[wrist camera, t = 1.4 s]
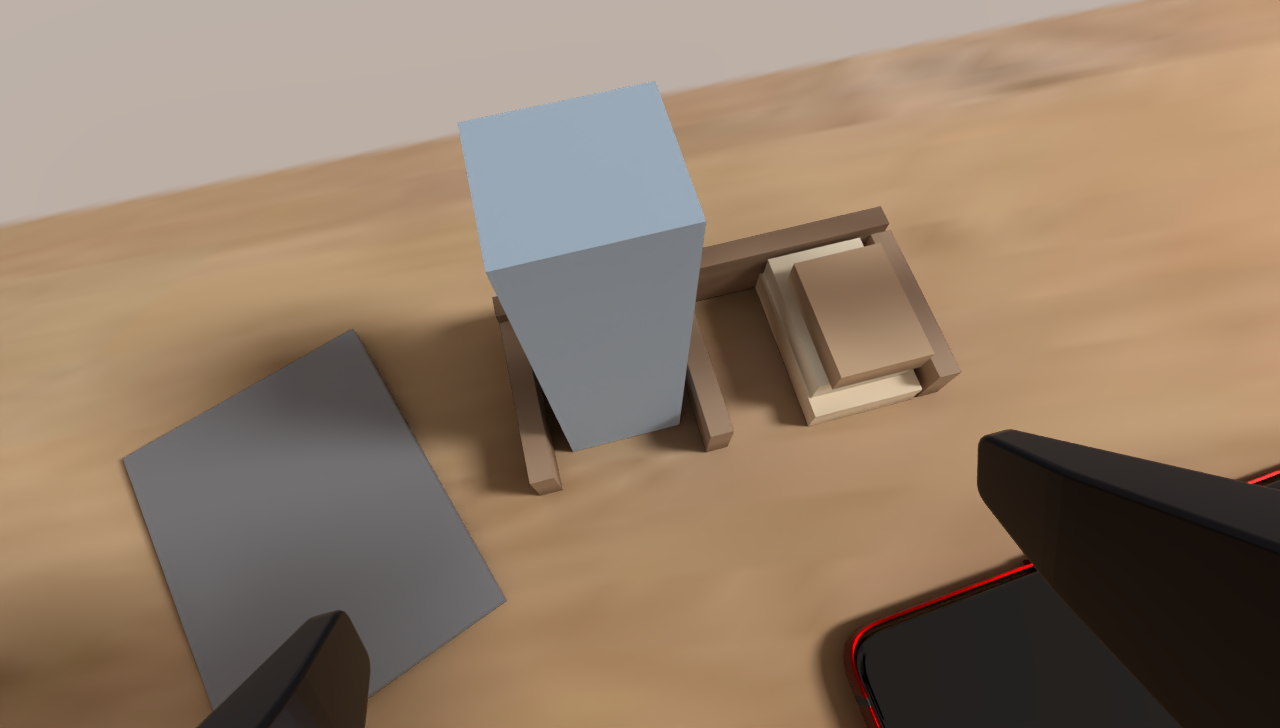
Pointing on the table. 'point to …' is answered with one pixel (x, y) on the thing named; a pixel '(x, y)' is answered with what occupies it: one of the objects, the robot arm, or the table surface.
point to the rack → (717, 276)
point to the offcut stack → (843, 329)
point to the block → (592, 254)
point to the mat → (308, 522)
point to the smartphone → (996, 663)
